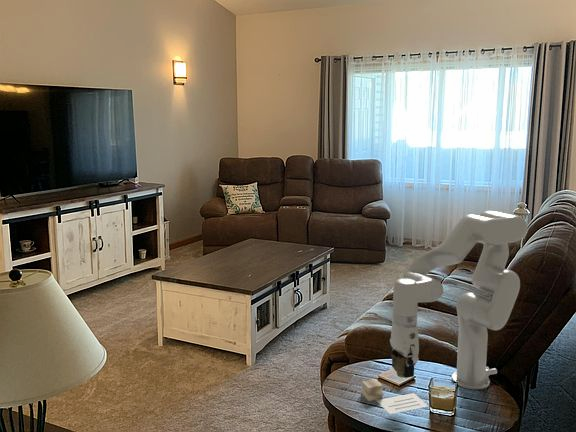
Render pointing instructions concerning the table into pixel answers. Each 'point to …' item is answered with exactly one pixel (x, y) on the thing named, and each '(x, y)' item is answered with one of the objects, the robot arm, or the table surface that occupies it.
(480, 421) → the table surface
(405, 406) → the letter
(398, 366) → the dark olive tapered piece
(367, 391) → the beech block
